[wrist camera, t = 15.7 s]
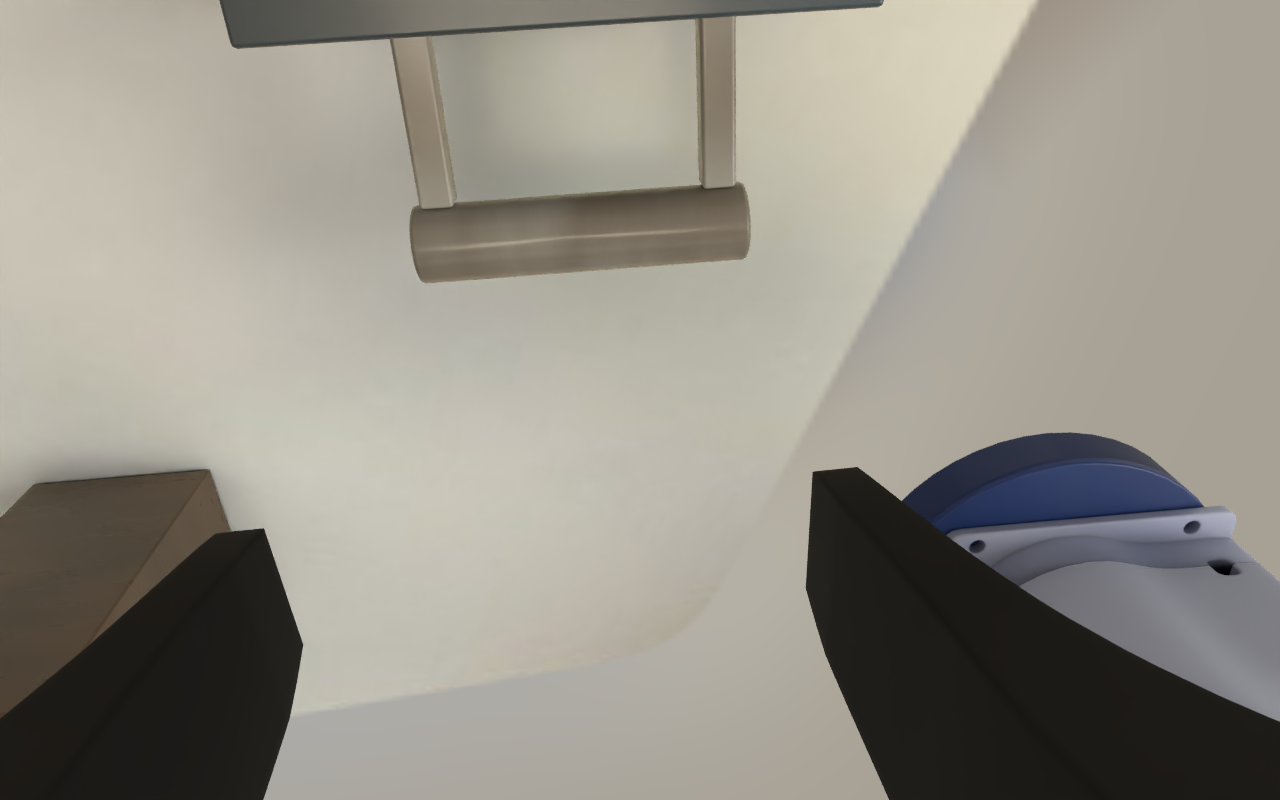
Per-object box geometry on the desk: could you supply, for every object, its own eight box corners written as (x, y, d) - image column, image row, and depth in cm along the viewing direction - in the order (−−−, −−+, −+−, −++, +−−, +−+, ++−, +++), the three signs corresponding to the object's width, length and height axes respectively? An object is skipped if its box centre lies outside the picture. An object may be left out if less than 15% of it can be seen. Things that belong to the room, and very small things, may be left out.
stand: (210, 469, 22) (41, 710, 15) (255, 602, 24) (126, 869, 17) (33, 483, 22) (-221, 735, 15) (95, 616, 24) (-103, 892, 17)
